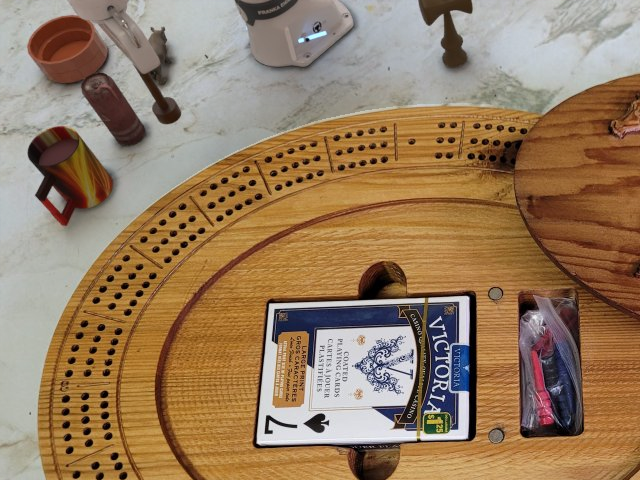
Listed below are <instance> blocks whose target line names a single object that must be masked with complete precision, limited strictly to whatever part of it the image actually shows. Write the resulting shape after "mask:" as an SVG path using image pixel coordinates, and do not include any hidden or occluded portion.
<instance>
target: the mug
mask: <svg viewBox="0 0 640 480" xmlns="http://www.w3.org/2000/svg"><path fill="white" fill-rule="evenodd" d="M27 158H28V160H29V161H30V162H31V163H32V164H33V165H34V167H35V168H36V169H37V170H38V171H39V172H40V174H41V175H42V176H43V178H42V181H41V183H40V185H39V187H38V188H37V190H36V192H35V194H34V196H35V198H36V199H37V200H38V201H39V202H40V203H41V204H42V205H43V207H45V208H46V209H47V211H49V213H50V215H52V217H53V218H54V219H55V220H56V221H57V222H58V224H60V225H61V226H62V227H68V224H69V223H70V220H71V218H72V216H73V214H74V212H75V210H76V209H79V210H80V209H81V210H85V209H91V208H93V207H96V206H98V205H99V204H101V203H103V202H104V201H105V200H106V199H107V198H108V197H109V196H110V195H111V193H112V191H113V187H114V180H113V177H112V176H111V174H110V173H109V172H108V170H107V169H106V168H105V166H104V165H103V164H102V162H101V161H100V160H99V158H98V157H97V156H96V155H95V153H94V152H93V151H92V149H91V148H90V147H89V146H88V145H87V143H86V142H85V140H83V138H82V137H81V135H80V134H79V133H78V132H77V131H76V130H75V129H74V128H73V127H70V126H65V125H59V126H58V125H57V126H53V127H49V128H47V129H45V130H43V131H41V132H40V133H38V134H37V135H36V136H35V137H34V138H33V139H32V140H31V142H30V143H29V145H28V147H27ZM52 188H53V189H54V190H55V191H56V192H57V193H58V195H60V196H61V197H62V199H63V200H64V201H65V205H64V207H63V209H62V211H60V210H58V208H57V207H56V206H55V205H54V204H53V203H52V202H51V200H49V198H48V196H49V194H50V192H51V190H52Z"/></svg>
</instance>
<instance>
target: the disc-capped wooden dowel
mask: <svg viewBox="0 0 640 480" xmlns="http://www.w3.org/2000/svg"><path fill="white" fill-rule="evenodd" d="M132 66H133V67H134V69H135V70H136V71H137V73H138V75H139V76H140V78H141V80H142V81H143V83H144V85H145V87H146V88H147V89H148V91H149V93H150V94H151V96H152V98H153V99H154V102H153V104H152V107H151V111H152V113H153V115H154V116H155V117H156V119H157V121H158V122H159V123H160V124H161V125H171V124H174V123H176V122H178V121H179V120H180V119H181V117H182V110H181V108H180V106H179V105H178V103H177V101H176V100H175V99H174V98H173V97H170V96H164V95H163V93H162V91H161V90H160V89H159V86H158V85H157V83H156V81H155V80H153V78H152V77H151V75H150V73H149V72H148V73H146V74H142V73H141V72H140V71H139V70H138V69H137V68H136V67H135V65H134V64H133V63H132Z"/></svg>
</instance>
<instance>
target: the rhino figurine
mask: <svg viewBox="0 0 640 480" xmlns="http://www.w3.org/2000/svg"><path fill="white" fill-rule="evenodd" d="M160 28H161V29H155V28H154V27H153V26H150V31H151V32H152V33H151V34H150V36H149V38H148V39H147V40H148V41H149V43H150V45H151V46H152V48H153V49H154V51H155V53H156V54H157V56H158V58H159V60H160V65H159V66H158V67H156V68H155V69H153V70H152V71H150V72H149V73H150V75H151V77H152V78H153V80H154V81H155V80H157V81H158V84H159V85H164V84H165V83H167V80H166V78H164V77H163V76H162V65H163V64H164V63H165V64H171V63H172V62H173V60H172V59H171V58H169V57H168V46H167V42H168V38H167V36H166V32H165V31H166V27H165V26H161V27H160Z"/></svg>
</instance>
